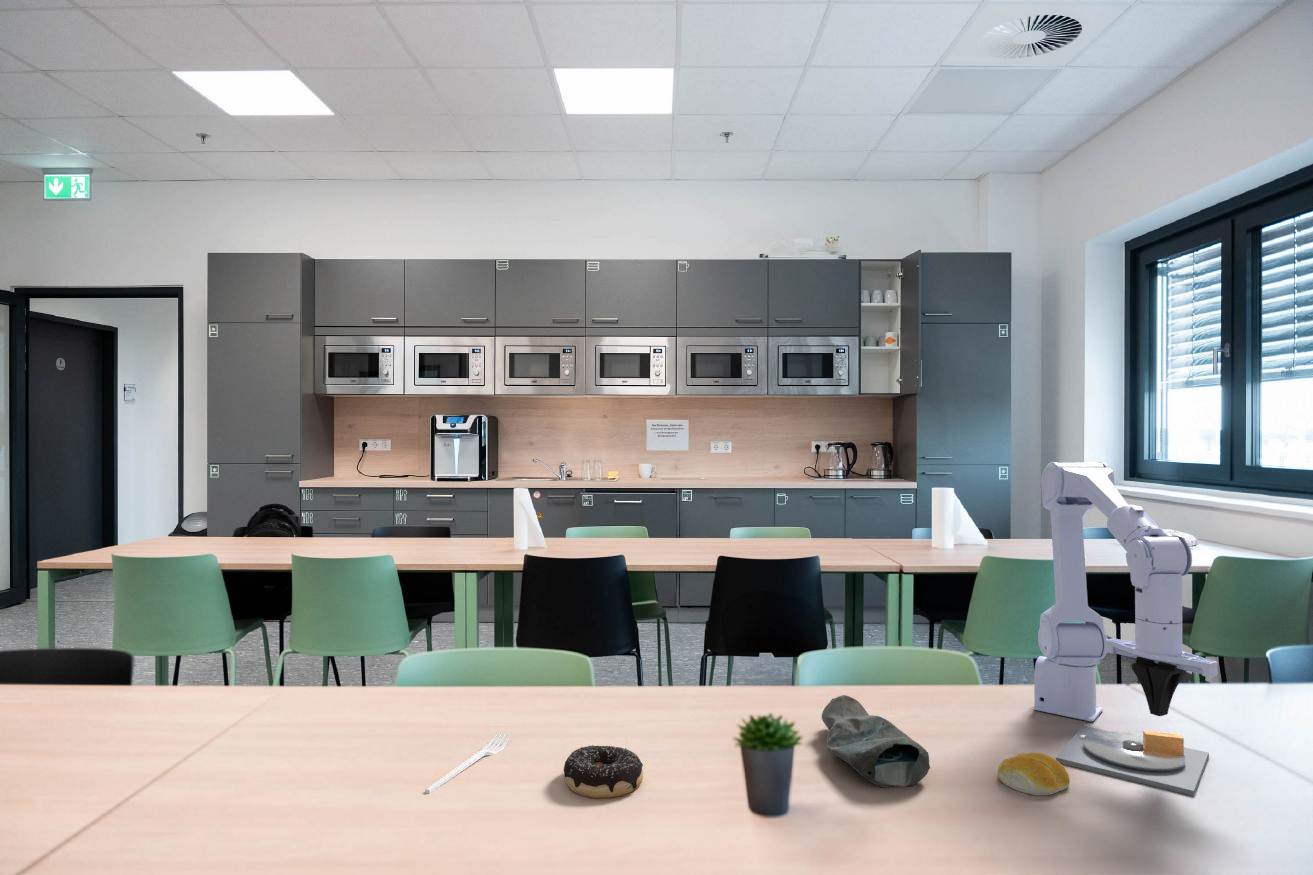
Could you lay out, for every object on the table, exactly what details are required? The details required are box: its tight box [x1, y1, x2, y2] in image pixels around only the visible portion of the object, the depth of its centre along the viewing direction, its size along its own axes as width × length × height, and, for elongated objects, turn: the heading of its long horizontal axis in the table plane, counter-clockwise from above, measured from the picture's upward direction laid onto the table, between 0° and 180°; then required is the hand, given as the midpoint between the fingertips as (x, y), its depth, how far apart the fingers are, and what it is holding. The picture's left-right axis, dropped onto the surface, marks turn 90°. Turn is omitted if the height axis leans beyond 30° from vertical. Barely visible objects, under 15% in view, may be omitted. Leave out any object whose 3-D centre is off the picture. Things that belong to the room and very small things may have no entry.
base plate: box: [1055, 725, 1210, 797], centre depth 117 cm, size 17×17×1 cm
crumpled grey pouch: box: [821, 694, 931, 788], centre depth 118 cm, size 13×7×25 cm
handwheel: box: [1083, 729, 1185, 771], centre depth 117 cm, size 13×13×3 cm
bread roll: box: [997, 752, 1071, 796], centre depth 109 cm, size 8×9×4 cm
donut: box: [563, 745, 644, 799], centre depth 110 cm, size 11×12×4 cm
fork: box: [424, 730, 512, 795], centre depth 115 cm, size 3×20×2 cm, turn 160°
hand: (1158, 713), depth 112 cm, fingers closed
